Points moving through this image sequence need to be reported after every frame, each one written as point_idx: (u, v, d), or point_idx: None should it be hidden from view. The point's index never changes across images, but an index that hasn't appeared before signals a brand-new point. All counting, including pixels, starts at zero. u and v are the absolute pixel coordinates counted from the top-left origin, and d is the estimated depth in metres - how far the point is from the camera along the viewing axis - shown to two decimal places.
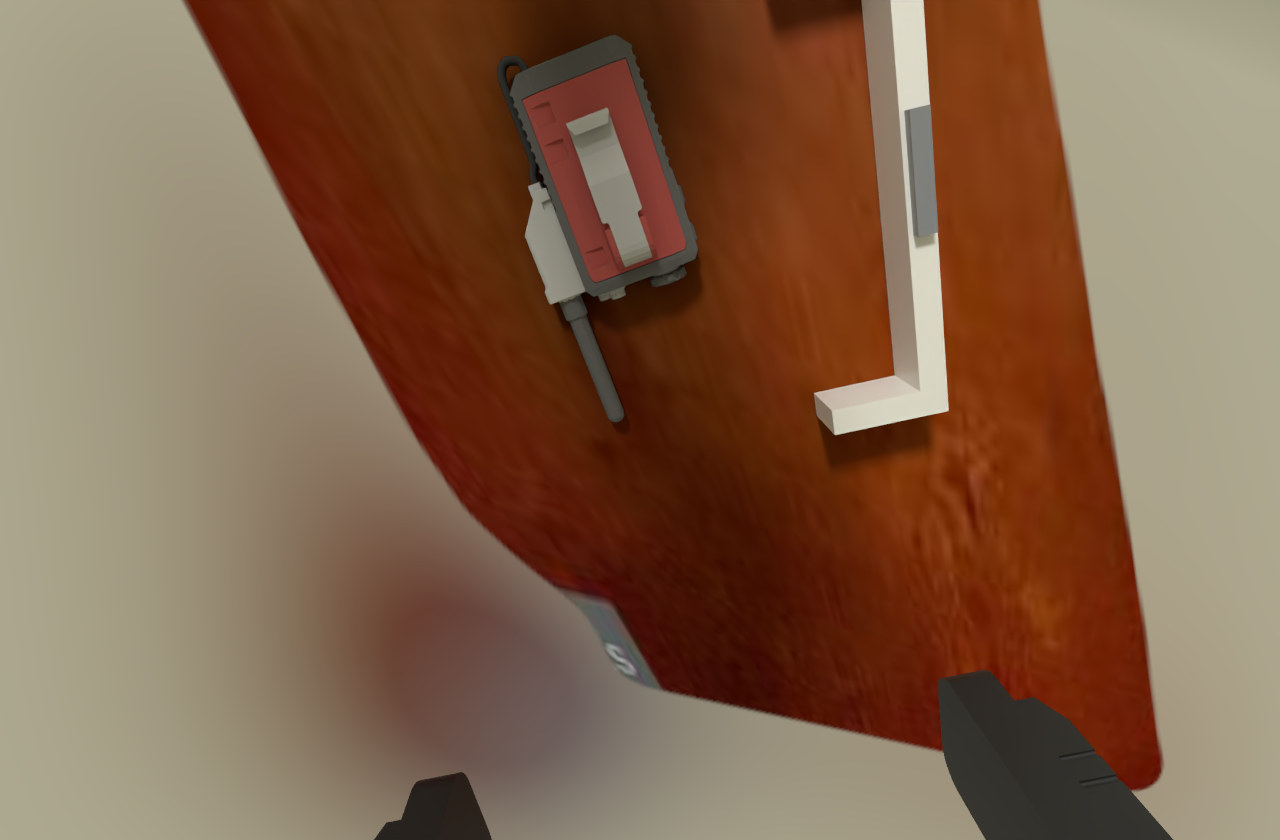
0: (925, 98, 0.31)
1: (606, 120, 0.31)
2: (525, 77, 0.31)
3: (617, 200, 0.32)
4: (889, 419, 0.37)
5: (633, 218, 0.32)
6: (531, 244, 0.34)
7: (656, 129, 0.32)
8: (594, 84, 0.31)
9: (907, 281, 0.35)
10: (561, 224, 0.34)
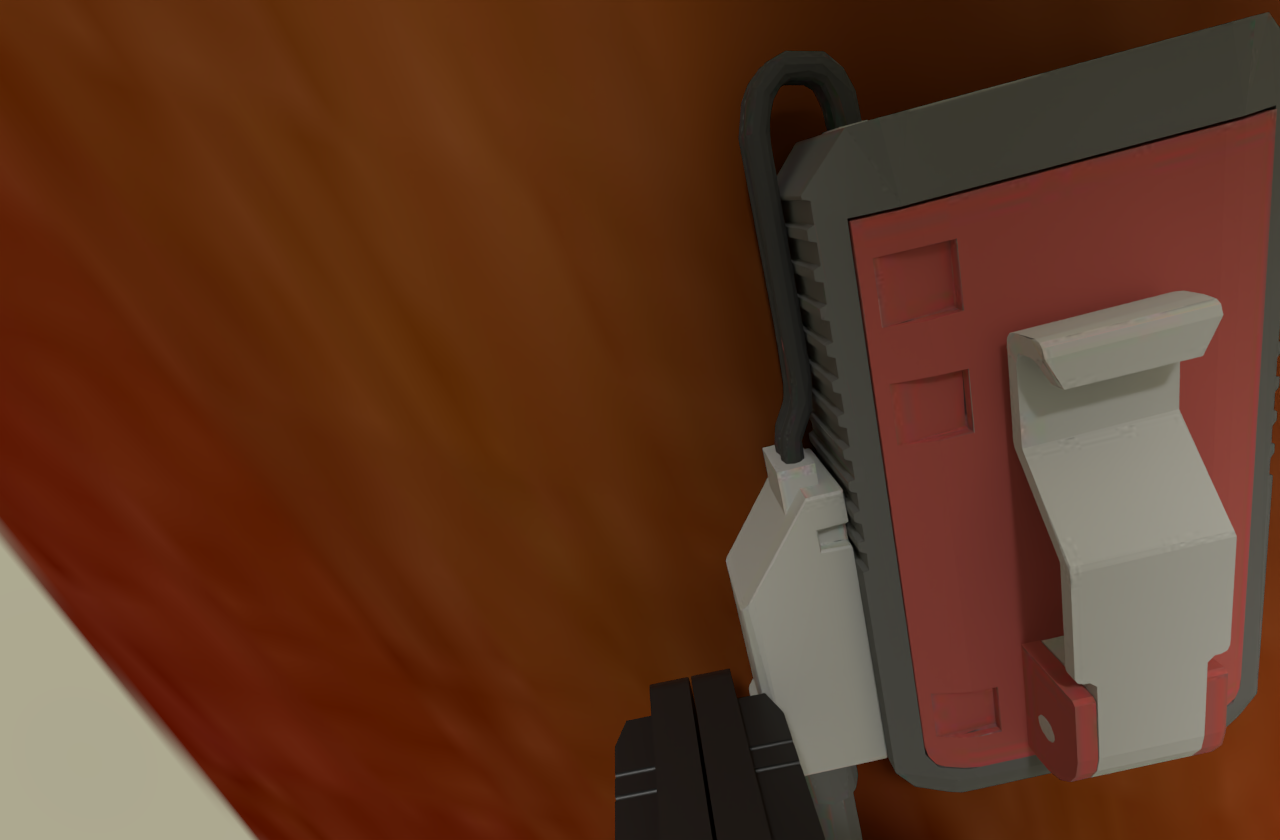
0: None
1: (1199, 346, 0.08)
2: (888, 141, 0.08)
3: (1155, 621, 0.09)
4: None
5: (1187, 676, 0.09)
6: (758, 638, 0.11)
7: (1275, 359, 0.09)
8: (1143, 195, 0.08)
9: None
10: (874, 606, 0.10)
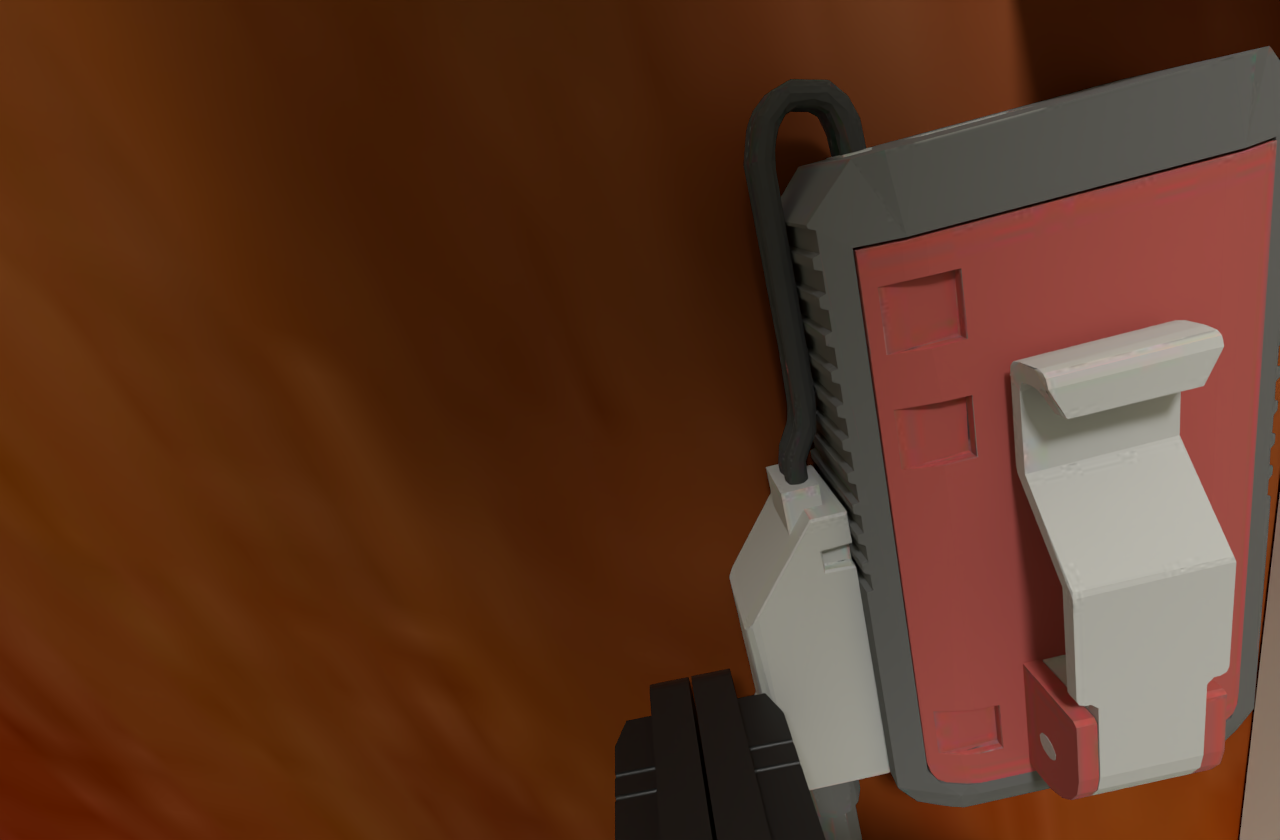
0: None
1: (1200, 376, 0.08)
2: (894, 173, 0.08)
3: (1155, 644, 0.09)
4: None
5: (1186, 697, 0.09)
6: (763, 656, 0.11)
7: (1273, 384, 0.09)
8: (1145, 225, 0.08)
9: None
10: (877, 625, 0.11)
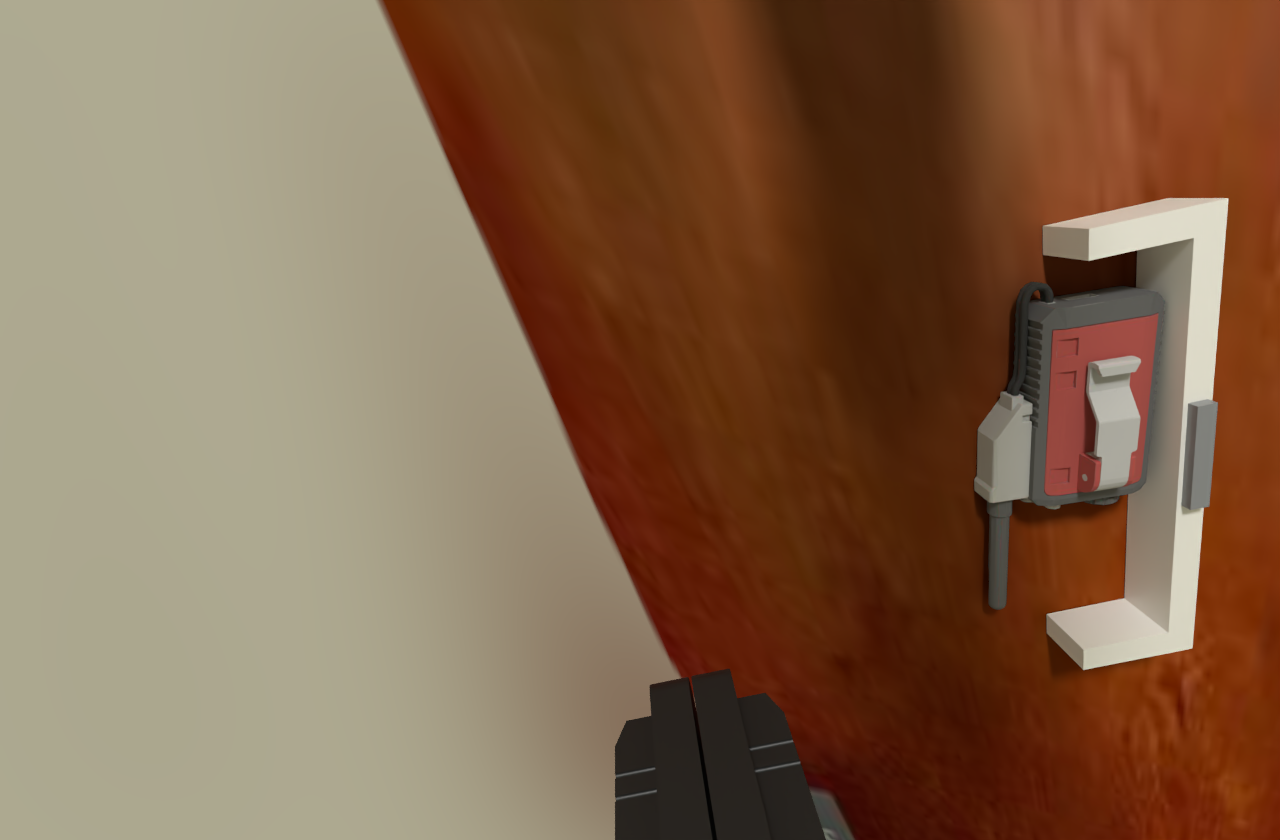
0: (1209, 392, 0.33)
1: (1135, 369, 0.33)
2: (1066, 313, 0.33)
3: (1118, 439, 0.34)
4: (1136, 655, 0.39)
5: (1125, 457, 0.34)
6: (998, 449, 0.36)
7: (1156, 376, 0.34)
8: (1125, 331, 0.33)
9: (1165, 538, 0.37)
10: (1037, 439, 0.35)
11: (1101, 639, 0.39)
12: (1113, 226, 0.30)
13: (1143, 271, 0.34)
